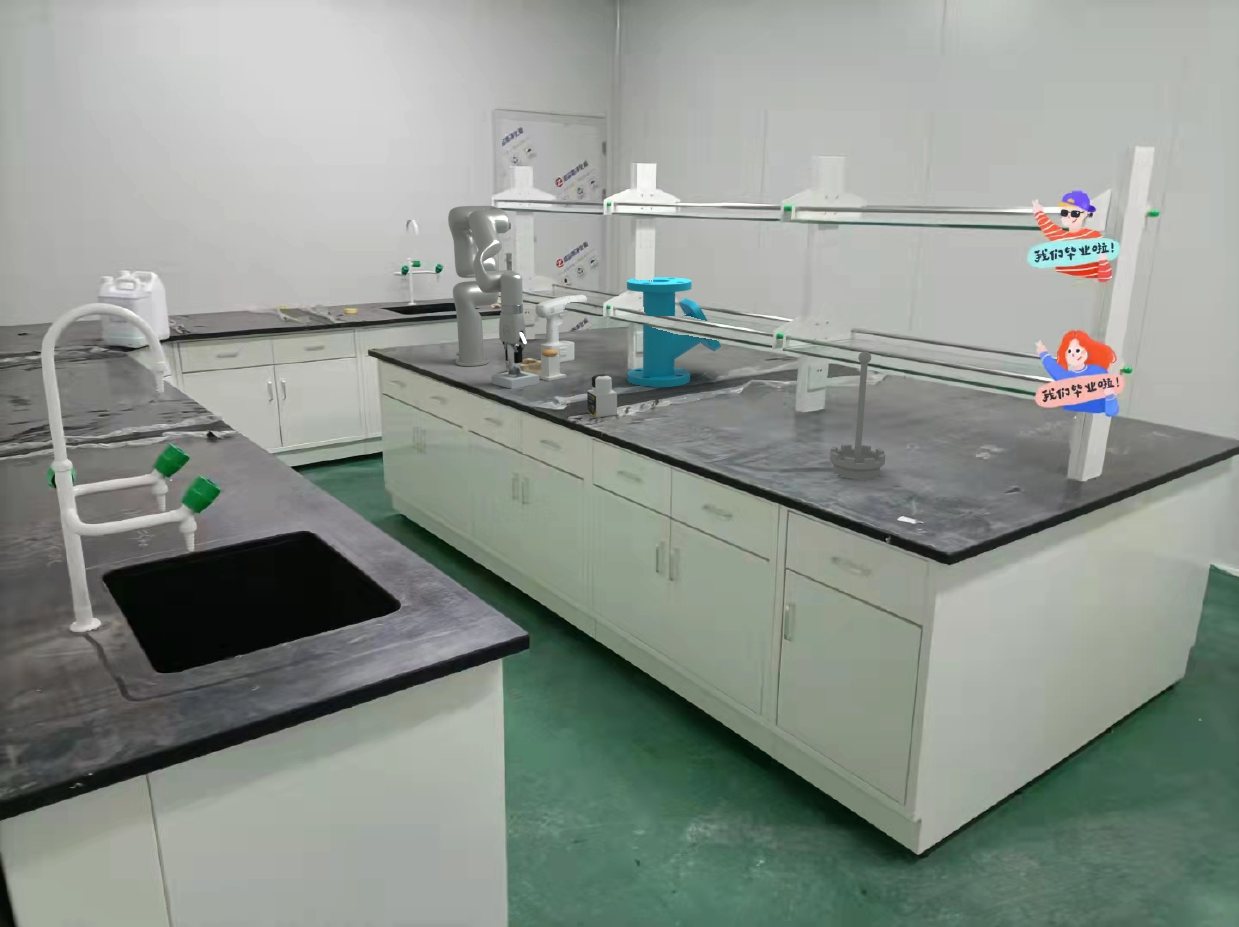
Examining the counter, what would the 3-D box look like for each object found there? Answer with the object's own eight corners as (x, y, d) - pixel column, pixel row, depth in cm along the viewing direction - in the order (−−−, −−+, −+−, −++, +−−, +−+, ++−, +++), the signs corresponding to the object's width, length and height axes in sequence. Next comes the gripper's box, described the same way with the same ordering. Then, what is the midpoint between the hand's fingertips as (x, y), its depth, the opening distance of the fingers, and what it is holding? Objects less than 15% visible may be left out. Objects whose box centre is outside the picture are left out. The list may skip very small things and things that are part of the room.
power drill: (593, 357, 360) (592, 294, 353) (545, 365, 345) (543, 300, 337) (580, 354, 366) (579, 292, 359) (532, 362, 351) (530, 298, 343)
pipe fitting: (621, 375, 328) (620, 278, 317) (704, 370, 334) (706, 275, 323) (635, 388, 307) (635, 285, 296) (723, 383, 313) (726, 282, 302)
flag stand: (886, 482, 212) (897, 357, 203) (830, 479, 214) (838, 356, 205) (880, 465, 224) (891, 347, 215) (827, 463, 226) (835, 345, 217)
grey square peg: (505, 373, 315) (504, 342, 312) (515, 371, 318) (514, 340, 315) (513, 375, 312) (512, 344, 309) (523, 373, 315) (522, 342, 312)
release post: (535, 377, 325) (534, 355, 323) (552, 374, 330) (551, 352, 328) (548, 380, 319) (548, 358, 317) (566, 377, 325) (565, 355, 322)
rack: (506, 372, 334) (505, 362, 332) (529, 368, 341) (529, 358, 340) (523, 377, 326) (523, 366, 325) (547, 372, 333) (547, 362, 332)
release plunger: (539, 373, 325) (538, 350, 322) (551, 370, 328) (551, 348, 326) (549, 375, 321) (548, 352, 318) (561, 373, 324) (560, 350, 322)
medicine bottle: (587, 412, 277) (586, 374, 273) (608, 410, 279) (608, 372, 276) (595, 417, 270) (595, 379, 267) (617, 415, 273) (617, 376, 269)
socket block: (491, 383, 316) (491, 375, 315) (519, 378, 324) (518, 370, 323) (511, 388, 308) (511, 380, 307) (539, 383, 316) (539, 375, 315)
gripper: (489, 307, 312) (491, 359, 317) (517, 313, 300) (519, 367, 306) (506, 305, 316) (508, 356, 322) (535, 311, 305) (537, 364, 311)
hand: (514, 361), depth 314 cm, fingers closed on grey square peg, 4 cm apart
